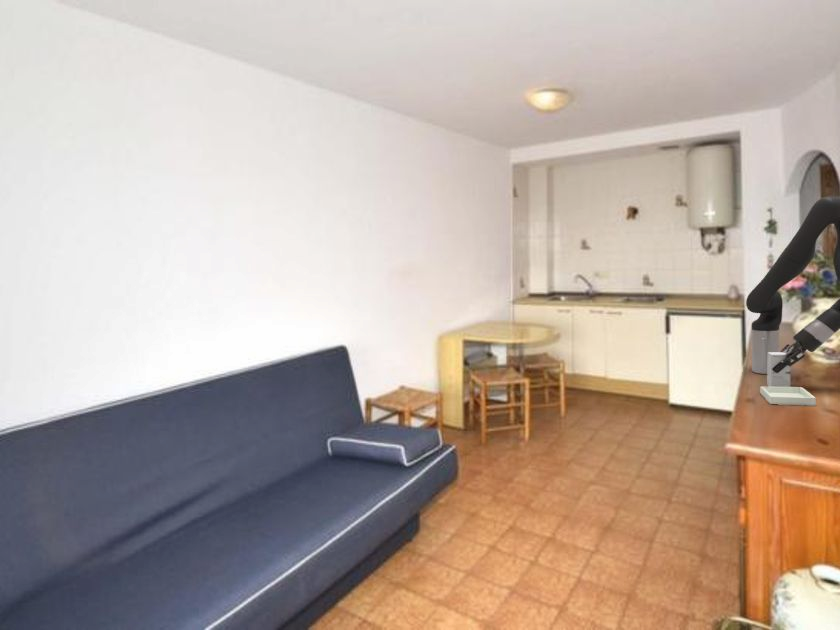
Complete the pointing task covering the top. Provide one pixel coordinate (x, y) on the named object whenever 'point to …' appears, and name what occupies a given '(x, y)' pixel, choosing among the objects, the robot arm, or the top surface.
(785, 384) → the skincare box
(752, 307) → the robot arm
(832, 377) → the top surface
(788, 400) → the tray
